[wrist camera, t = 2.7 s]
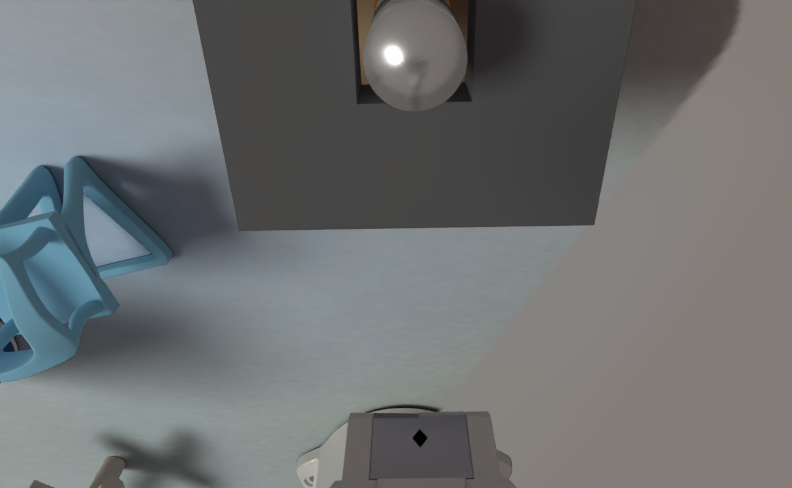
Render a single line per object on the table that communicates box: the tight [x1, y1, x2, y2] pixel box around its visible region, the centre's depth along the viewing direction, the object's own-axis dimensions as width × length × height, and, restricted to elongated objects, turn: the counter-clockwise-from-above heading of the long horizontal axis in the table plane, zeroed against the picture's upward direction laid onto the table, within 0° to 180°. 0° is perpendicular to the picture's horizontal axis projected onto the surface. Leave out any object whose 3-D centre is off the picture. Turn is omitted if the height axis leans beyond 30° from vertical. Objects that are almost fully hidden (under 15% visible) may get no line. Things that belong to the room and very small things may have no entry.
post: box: [363, 0, 467, 111], centre depth 21 cm, size 3×3×14 cm
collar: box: [193, 0, 636, 231], centre depth 19 cm, size 14×14×2 cm
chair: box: [0, 157, 172, 382], centre depth 31 cm, size 8×8×12 cm
